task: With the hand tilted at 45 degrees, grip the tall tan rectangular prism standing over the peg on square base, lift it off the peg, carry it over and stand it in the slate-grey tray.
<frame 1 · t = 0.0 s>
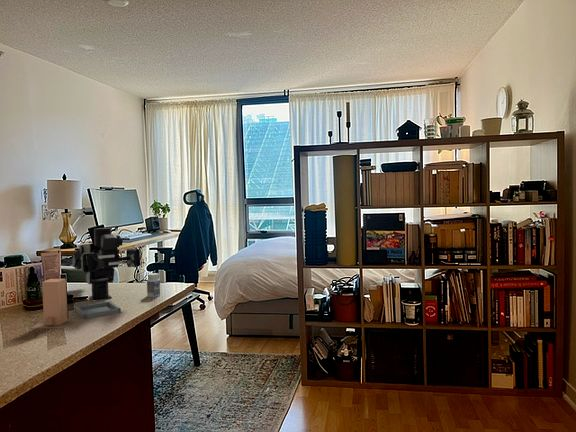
hand: (119, 263, 140), 17 cm above the worktop, tool horizontal, fingers open, 9 cm apart
tray: (97, 313, 141), on the worktop
peg on square base: (56, 325, 129), on the worktop
tan rectangular prism: (56, 322, 129), point 1 cm above the worktop, touching peg on square base
pill bottle: (153, 296, 164), on the worktop
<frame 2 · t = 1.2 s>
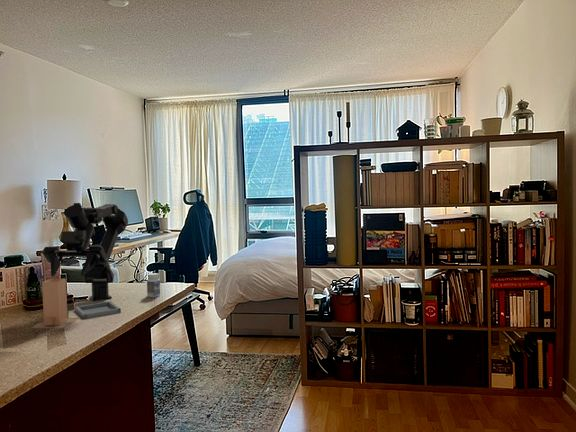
hand: (67, 275, 136), 13 cm above the worktop, tool tilted 45°, fingers open, 9 cm apart
nothing on the worktop moved.
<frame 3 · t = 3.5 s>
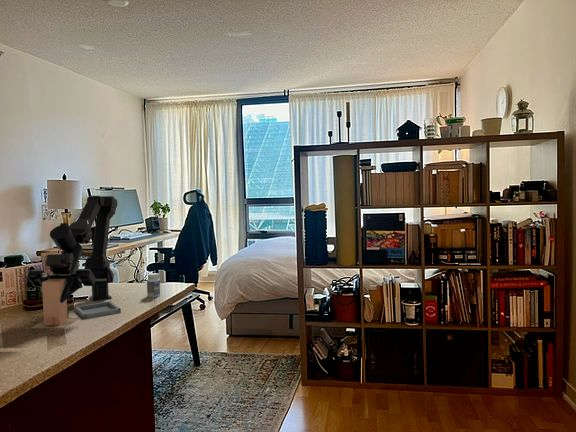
hand: (52, 302, 127), 7 cm above the worktop, tool tilted 45°, fingers closed on tan rectangular prism, 5 cm apart
tan rectangular prism: (56, 322, 129), point 1 cm above the worktop, touching gripper, peg on square base
everything else where it was.
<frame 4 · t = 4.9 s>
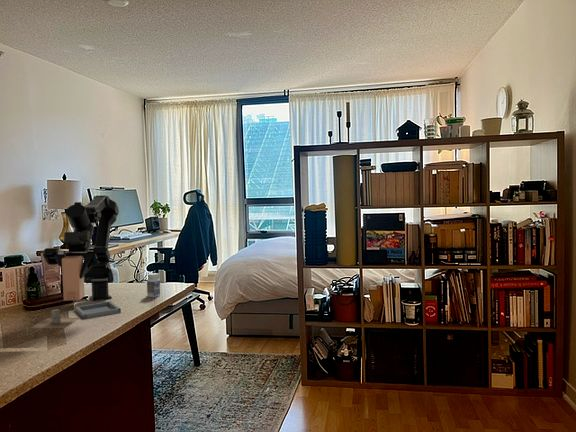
hand: (72, 278, 131), 14 cm above the worktop, tool tilted 45°, fingers closed on tan rectangular prism, 5 cm apart
tan rectangular prism: (74, 298, 133), point 7 cm above the worktop, touching gripper
everything else where it was.
when the fingers open (9 cm above the worktop, at t = 6.6 s): tan rectangular prism drops 1 cm, resting on tray.
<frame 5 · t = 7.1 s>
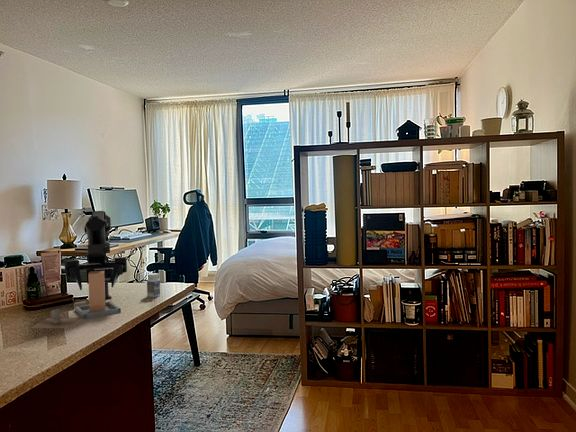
hand: (96, 288, 139), 9 cm above the worktop, tool tilted 45°, fingers open, 9 cm apart
tan rectangular prism: (97, 311, 141), point 1 cm above the worktop, touching tray
everything else where it was.
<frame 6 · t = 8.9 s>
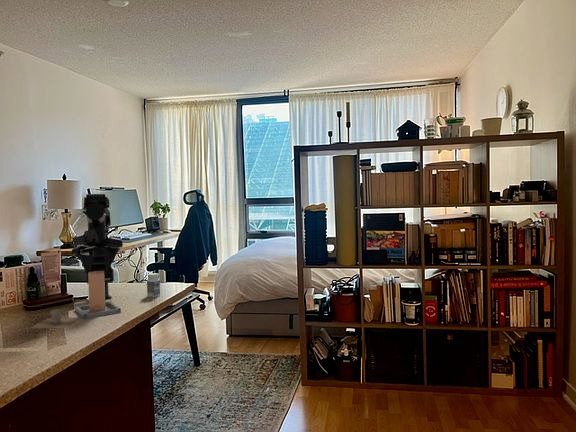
hand: (97, 272, 147), 12 cm above the worktop, tool tilted 20°, fingers open, 9 cm apart
nothing on the worktop moved.
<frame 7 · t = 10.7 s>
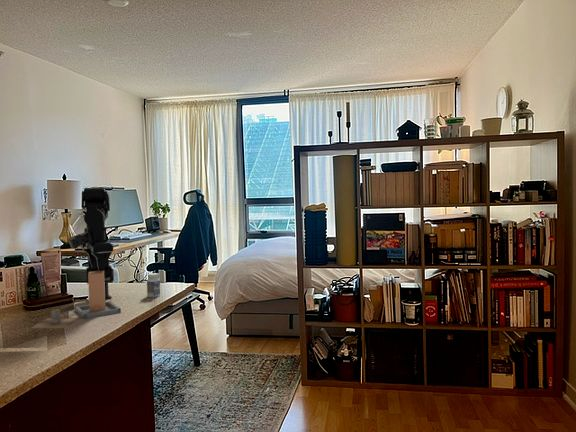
hand: (97, 270, 147), 13 cm above the worktop, tool pointing down, fingers open, 9 cm apart
tan rectangular prism: (97, 311, 141), point 1 cm above the worktop, touching gripper, tray
everything else where it was.
at the end: tan rectangular prism inside the target area on the tray (0.0 cm from its centre), point 0.8 cm above the tray's base; tan rectangular prism tilted 0°; the gripper is holding nothing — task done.
